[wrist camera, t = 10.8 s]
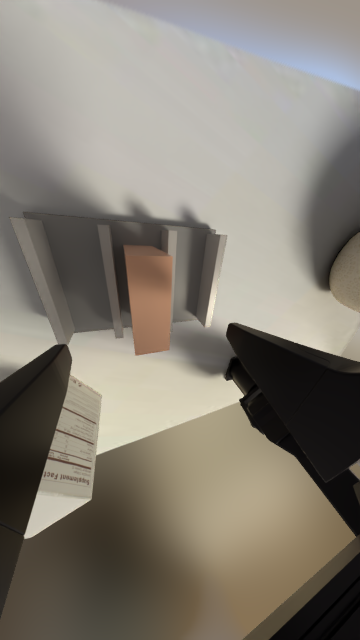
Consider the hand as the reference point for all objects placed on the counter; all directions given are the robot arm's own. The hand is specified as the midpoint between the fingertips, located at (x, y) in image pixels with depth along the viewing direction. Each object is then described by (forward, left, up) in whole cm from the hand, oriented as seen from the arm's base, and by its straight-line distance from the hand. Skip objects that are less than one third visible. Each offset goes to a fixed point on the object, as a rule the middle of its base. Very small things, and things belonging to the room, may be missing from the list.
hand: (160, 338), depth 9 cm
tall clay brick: (0, 0, -12) cm, 12 cm away
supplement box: (-18, +12, -13) cm, 25 cm away
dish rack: (0, 0, -13) cm, 13 cm away
